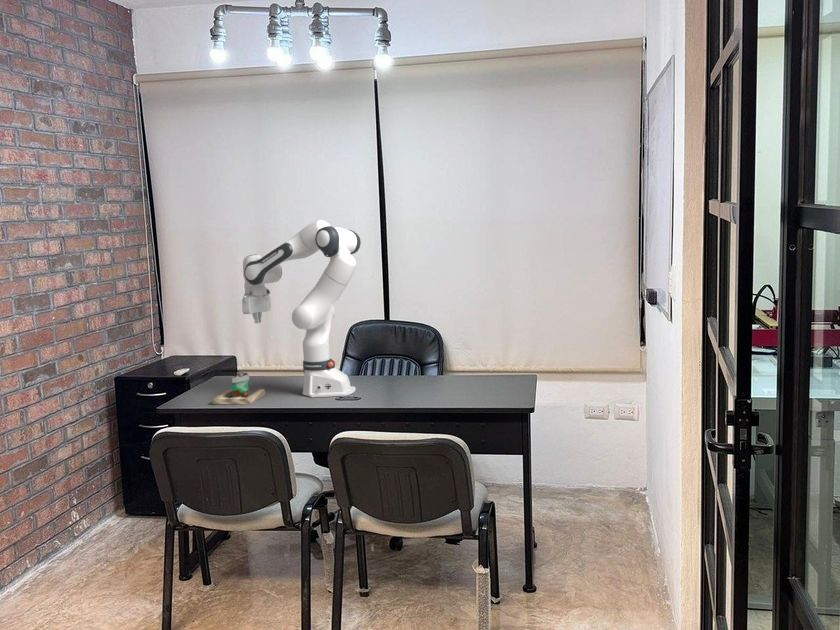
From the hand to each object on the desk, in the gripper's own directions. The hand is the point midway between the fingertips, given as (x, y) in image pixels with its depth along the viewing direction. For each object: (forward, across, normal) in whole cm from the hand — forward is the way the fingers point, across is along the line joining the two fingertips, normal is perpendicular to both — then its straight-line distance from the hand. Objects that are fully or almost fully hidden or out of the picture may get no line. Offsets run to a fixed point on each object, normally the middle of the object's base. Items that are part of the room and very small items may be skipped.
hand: (258, 323), depth 360 cm
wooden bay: (+30, -22, 0) cm, 37 cm away
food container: (+30, -18, 0) cm, 36 cm away
